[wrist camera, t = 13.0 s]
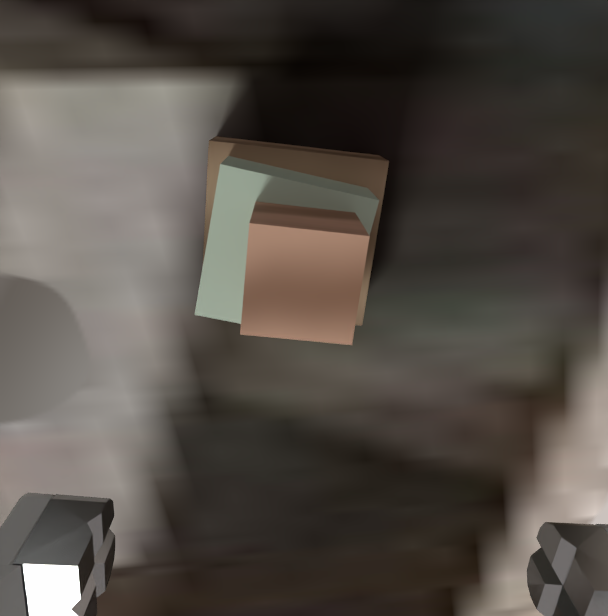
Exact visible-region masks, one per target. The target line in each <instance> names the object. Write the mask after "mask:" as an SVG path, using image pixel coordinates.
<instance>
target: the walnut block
mask: <svg viewBox="0 0 608 616" xmlns="http://www.w3.org/2000/svg"><path fill="white" fill-rule="evenodd" d="M228 156H231V157H236V158H240V159H244V160H249V161H253V162H257V163H262V164H266V165H270V166H275V167H279V168H283V169H288V170H292V171H296V172H301V173H305V174H309V175H314V176H318V177H322V178H327V179H331V180H335V181H340V182H344V183H348V184H353V185H357V186H361V187H366V188H368V189H369V190H370V191H371V192H372V193H373V194H374V195H375V196H376V197H377V198H378V200H379V204H378V207H377V211H376V214H375V218H374V222H373V225H372V229H371V232H370V238H369V244H368V250H367V256H366V262H365V268H364V274H363V280H362V286H361V292H360V298H359V305H358V311H357V317H356V323H355V325H361V326H362V323H363V317H364V311H365V305H366V298H367V292H368V286H369V280H370V274H371V268H372V262H373V256H374V250H375V244H376V238H377V232H378V226H379V220H380V214H381V208H382V202H383V196H384V190H385V184H386V177H387V171H388V165H389V161H388V160H386V159H384V158H383V157H381V156H380V155H373V154H364V153H355V152H347V151H338V150H330V149H321V148H312V147H304V146H295V145H287V144H278V143H269V142H261V141H252V140H244V139H235V138H226V137H218V136H216V137H215V138H213V139H211V140H209V149H208V170H207V190H206V210H205V231H204V251H203V262H204V257H205V251H206V245H207V239H208V233H209V227H210V221H211V215H212V209H213V203H214V198H215V192H216V186H217V180H218V174H219V168H220V164H221V163H222V162H223V161H224V160H225V159H226V158H227V157H228Z"/></svg>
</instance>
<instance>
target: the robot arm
mask: <svg viewBox="0 0 608 616" xmlns="http://www.w3.org/2000/svg"><path fill="white" fill-rule="evenodd" d="M113 518H114V507H113V501H112V500H111V499H110V498H97V497H84V496H72V495H59V494H56V495H51V494H39V493H27V494H25V495H24V496H22V497H21V498H20V499H19V501H18V502H17V504H16V505H15V507H14V508H13V510H12V511H11V513H10V514H9V516H8V517H7V519H6V520H5V522H4V523H3V525H2V526H1V528H0V616H96V615H97V597H98V596H99V595H100V594H102V593H103V592H104V591H105V590H106V587H107V584H108V581H109V579H110V576H111V571H112V566H113V562H114V554H115V535H114V533H113V532H112V531H111V530H110V529H109V528H110V525H111V523H112V520H113ZM537 540H538V542H539V544H540V546H541V548H540V549H539V550H537V551H536V552H535V553H534V554H532V555H531V557H530V560H529V564H528V568H527V583H528V588H529V592H530V596H531V598H532V600H533V603H534V605H535V607H536V609H537V610H538V611H539V612H540V613H542V614H543V615H544V616H608V525H605V524H596V525H593V524H574V523H552V522H545V523H544V524H543V525H542V526H541V527H540V529H539V532H538V535H537Z"/></svg>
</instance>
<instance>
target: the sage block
mask: <svg viewBox="0 0 608 616" xmlns="http://www.w3.org/2000/svg"><path fill="white" fill-rule="evenodd" d="M256 201H257V202H265V203H274V204H283V205H292V206H301V207H310V208H319V209H328V210H337V211H346V212H355V213H356V215H357V216H358V218H359V219H360V221H361V223H362V224H363V226H364V228H365V229H366V231H367V233H368V234H369V236H370V232H371V229H372V225H373V222H374V218H375V214H376V211H377V207H378V204H379V200H378V198H377V197H376V196H375V195H374V194H373V193H372V192H371V191H370V190H369V189H368V188H366V187H361V186H357V185H353V184H348V183H344V182H340V181H335V180H331V179H327V178H322V177H318V176H314V175H309V174H305V173H301V172H296V171H292V170H288V169H283V168H279V167H275V166H270V165H266V164H262V163H257V162H253V161H249V160H244V159H240V158H236V157H231V156H228V157H227V158H226V159H225V160H224V161H223V162H222V163H221V164H220V168H219V174H218V180H217V186H216V192H215V198H214V203H213V209H212V215H211V221H210V227H209V233H208V239H207V245H206V251H205V257H204V262H203V268H202V274H201V280H200V286H199V292H198V298H197V304H196V310H195V315H199V316H204V317H209V318H214V319H219V320H224V321H230V322H235V323H240V324H241V318H242V306H243V294H244V282H245V270H246V258H247V246H248V233H249V223H250V219H251V216H252V212H253V209H254V205H255V202H256Z"/></svg>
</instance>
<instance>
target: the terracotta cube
mask: <svg viewBox="0 0 608 616" xmlns="http://www.w3.org/2000/svg"><path fill="white" fill-rule="evenodd" d="M369 238H370V236H369V234H368V233H367V231H366V229H365V228H364V226H363V224H362V223H361V221H360V219H359V218H358V216H357V215H356V213H355V212H346V211H337V210H328V209H319V208H310V207H301V206H292V205H283V204H274V203H265V202H257V201H256V202H255V205H254V209H253V212H252V216H251V219H250V223H249V233H248V246H247V258H246V270H245V282H244V294H243V306H242V318H241V330H240V334H241V335H251V336H262V337H273V338H283V339H294V340H304V341H315V342H326V343H336V344H347V345H352V341H353V335H354V329H355V323H356V317H357V311H358V305H359V298H360V292H361V286H362V280H363V274H364V268H365V262H366V256H367V250H368V244H369Z"/></svg>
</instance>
